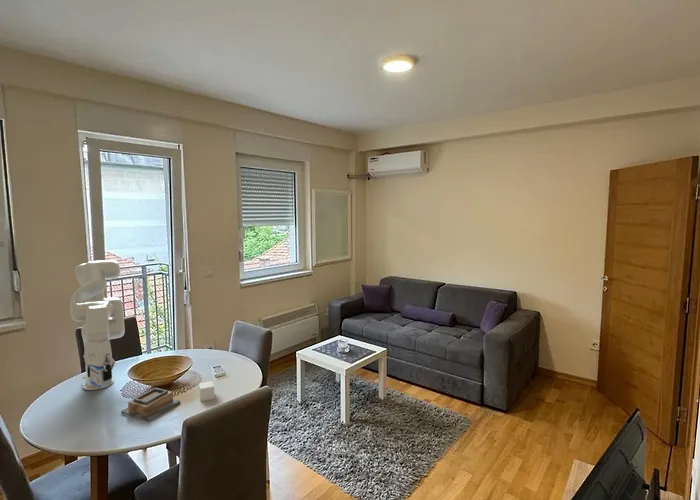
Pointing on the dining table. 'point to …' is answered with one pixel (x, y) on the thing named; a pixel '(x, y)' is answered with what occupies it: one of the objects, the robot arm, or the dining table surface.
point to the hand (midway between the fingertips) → (99, 377)
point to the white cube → (206, 391)
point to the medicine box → (98, 377)
